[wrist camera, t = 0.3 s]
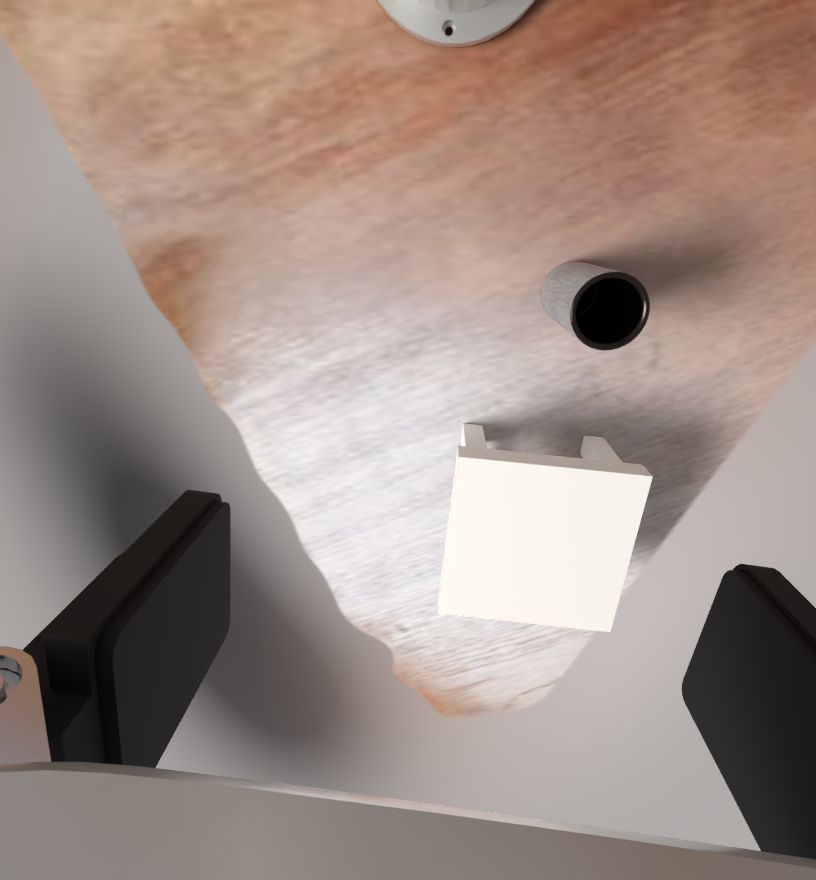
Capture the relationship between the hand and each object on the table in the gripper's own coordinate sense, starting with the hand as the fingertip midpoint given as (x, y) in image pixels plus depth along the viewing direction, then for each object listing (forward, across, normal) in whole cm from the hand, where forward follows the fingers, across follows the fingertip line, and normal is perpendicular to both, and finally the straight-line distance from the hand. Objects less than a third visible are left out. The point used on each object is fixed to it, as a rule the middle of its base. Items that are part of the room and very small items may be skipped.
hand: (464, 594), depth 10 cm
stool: (+34, -8, +14) cm, 38 cm away
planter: (+35, -9, -3) cm, 36 cm away
